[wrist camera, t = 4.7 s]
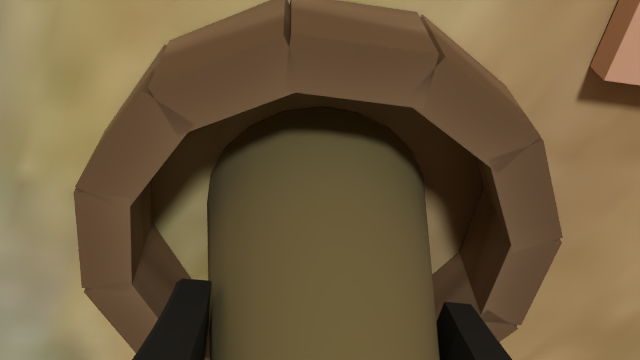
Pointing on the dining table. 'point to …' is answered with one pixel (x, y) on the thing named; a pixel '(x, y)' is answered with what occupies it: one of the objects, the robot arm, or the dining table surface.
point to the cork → (319, 243)
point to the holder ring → (332, 81)
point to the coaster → (620, 46)
